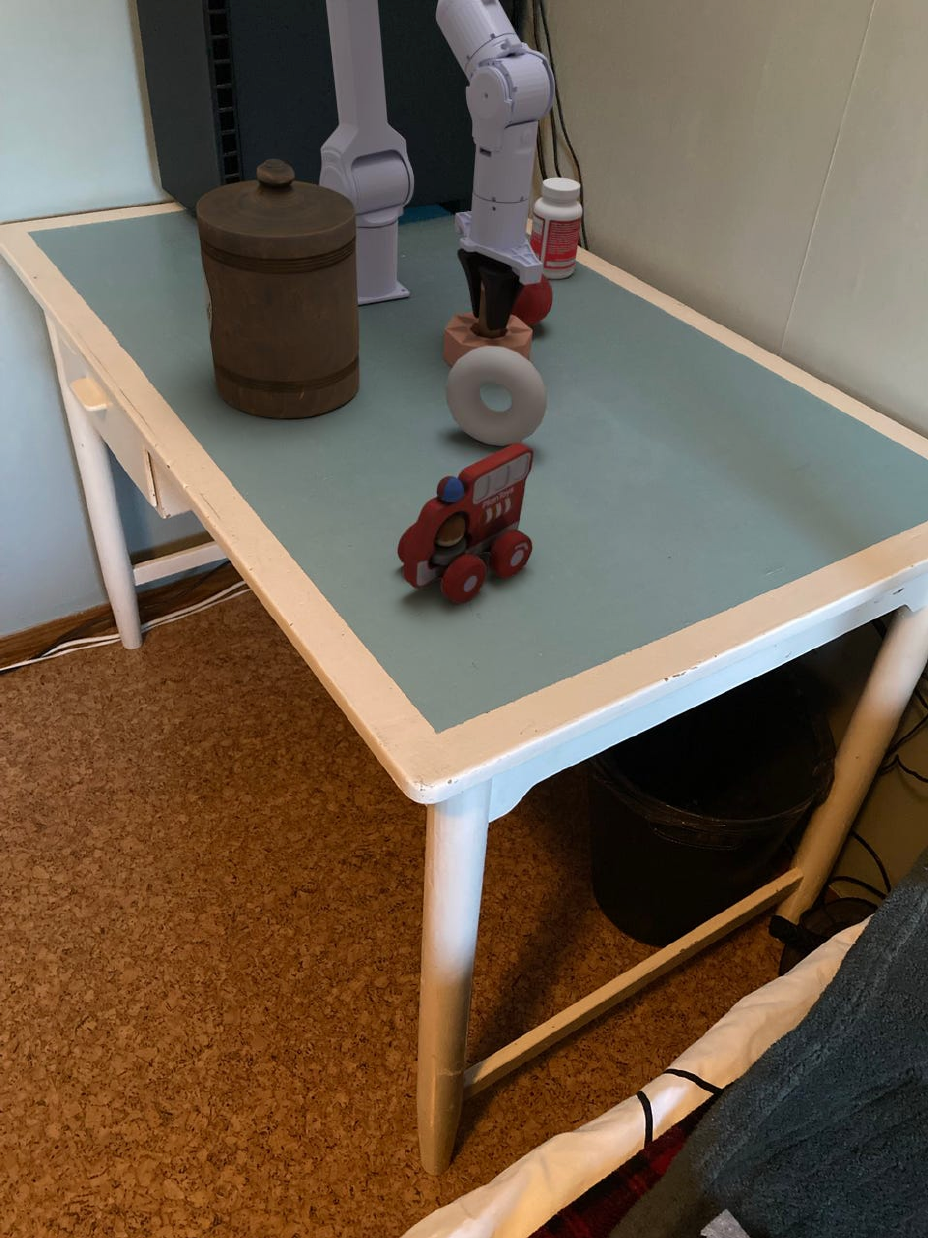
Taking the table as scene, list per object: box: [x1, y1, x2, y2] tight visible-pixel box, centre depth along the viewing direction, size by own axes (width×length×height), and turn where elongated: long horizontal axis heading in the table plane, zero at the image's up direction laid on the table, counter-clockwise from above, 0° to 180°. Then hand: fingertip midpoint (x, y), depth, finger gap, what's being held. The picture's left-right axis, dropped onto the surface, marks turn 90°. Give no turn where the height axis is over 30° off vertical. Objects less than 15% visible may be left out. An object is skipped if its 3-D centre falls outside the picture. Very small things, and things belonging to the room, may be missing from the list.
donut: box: [445, 346, 548, 447], centre depth 92 cm, size 10×3×10 cm, turn 71°
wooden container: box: [195, 158, 360, 419], centre depth 94 cm, size 15×15×22 cm
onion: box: [511, 274, 554, 328], centre depth 111 cm, size 6×6×8 cm
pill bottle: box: [529, 177, 583, 280], centre depth 123 cm, size 6×6×11 cm
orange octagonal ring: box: [442, 311, 534, 369], centre depth 107 cm, size 9×9×4 cm
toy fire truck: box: [396, 442, 534, 604], centre depth 77 cm, size 7×12×10 cm, turn 132°
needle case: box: [477, 281, 500, 339], centre depth 104 cm, size 2×2×8 cm
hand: (489, 321), depth 105 cm, fingers open, 2 cm apart
